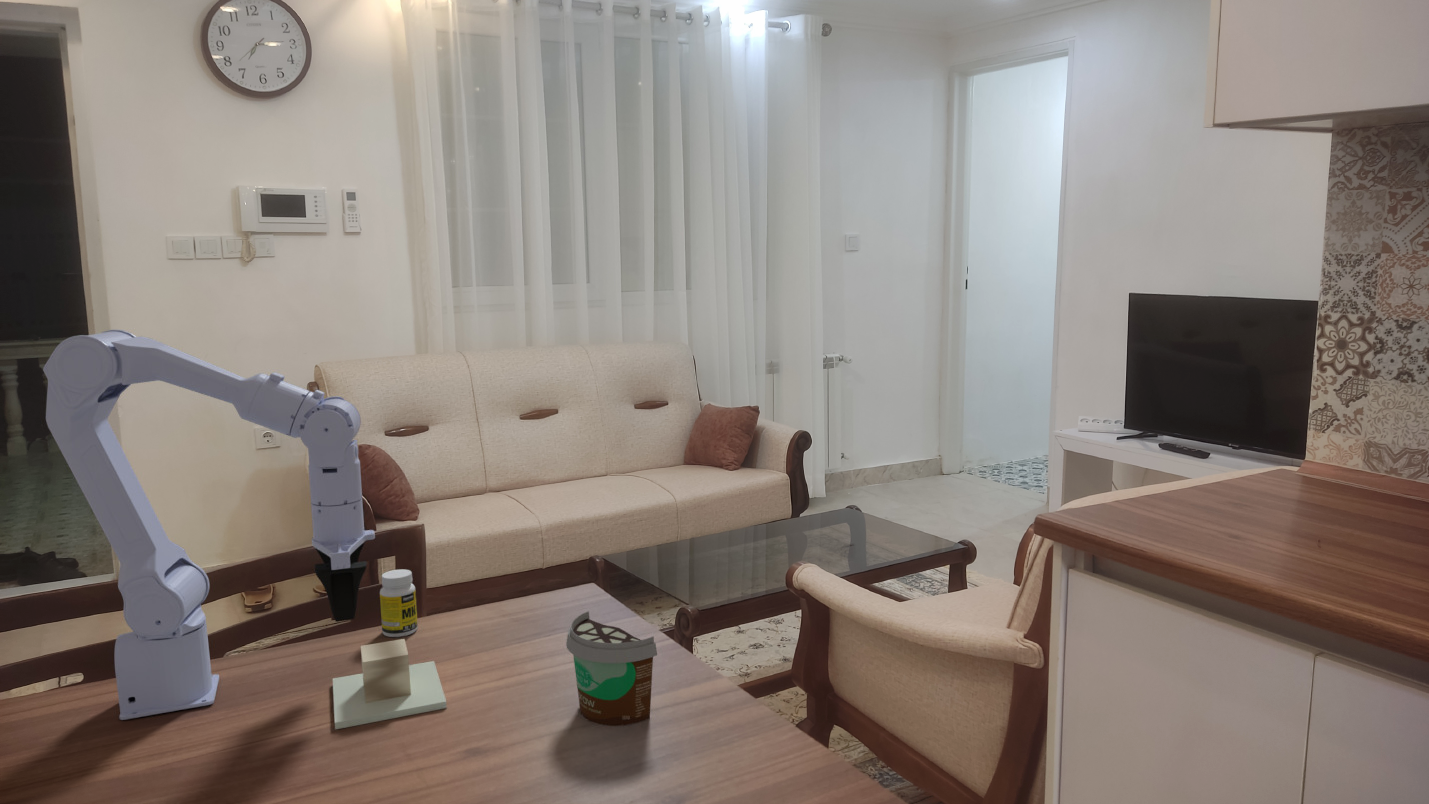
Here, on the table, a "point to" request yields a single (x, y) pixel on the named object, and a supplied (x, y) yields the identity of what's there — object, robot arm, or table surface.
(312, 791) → the table surface
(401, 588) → the supplement bottle
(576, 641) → the food container
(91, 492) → the robot arm
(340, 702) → the tile
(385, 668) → the cube
